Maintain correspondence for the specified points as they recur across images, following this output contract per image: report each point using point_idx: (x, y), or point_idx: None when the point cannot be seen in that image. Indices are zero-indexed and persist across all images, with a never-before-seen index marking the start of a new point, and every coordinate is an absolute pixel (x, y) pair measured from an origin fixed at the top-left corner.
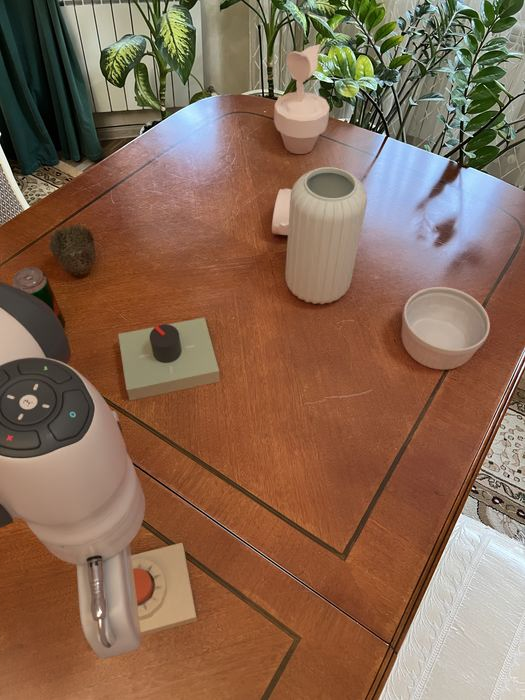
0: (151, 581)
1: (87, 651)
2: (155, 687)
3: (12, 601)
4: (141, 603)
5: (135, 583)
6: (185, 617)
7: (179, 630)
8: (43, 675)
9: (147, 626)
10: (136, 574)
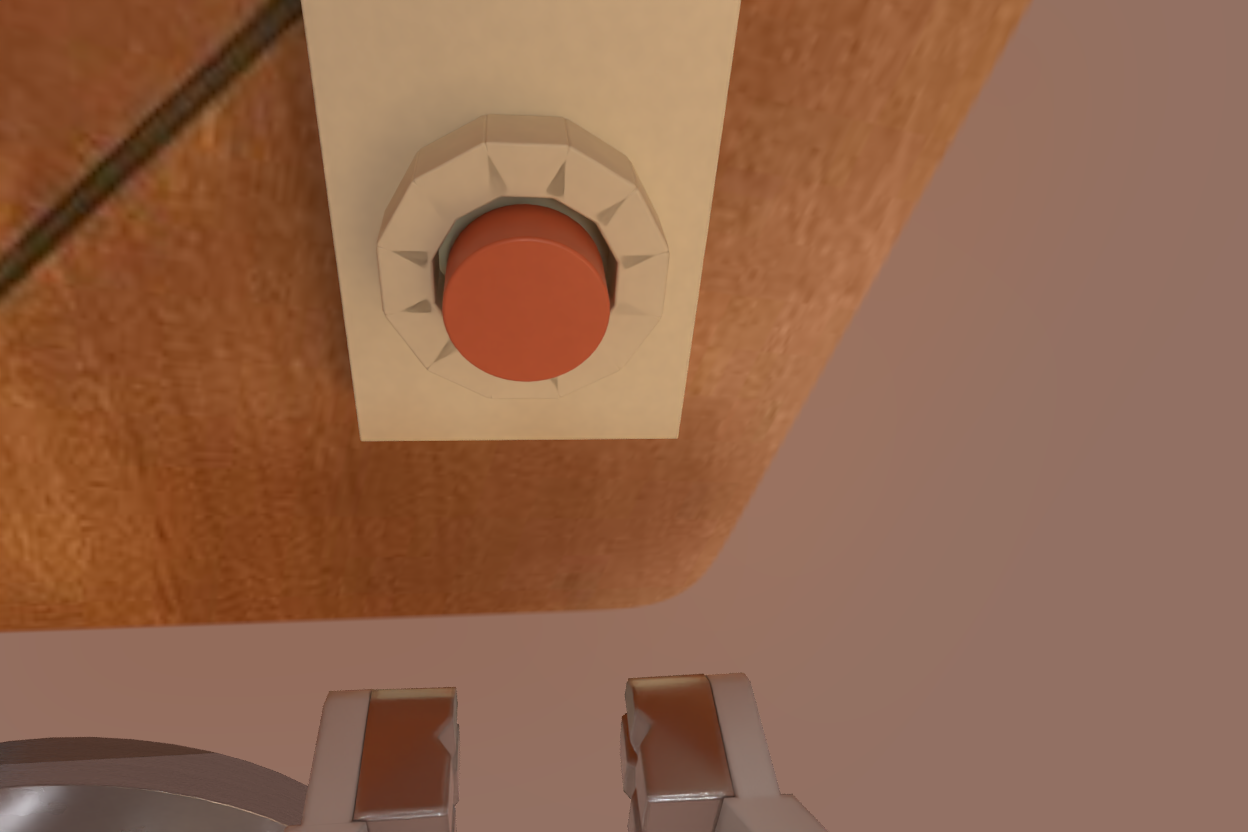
0: (526, 223)
1: None
2: (886, 215)
3: (426, 601)
4: None
5: (524, 312)
6: (723, 51)
7: None
8: (680, 530)
9: (690, 237)
10: (478, 302)
